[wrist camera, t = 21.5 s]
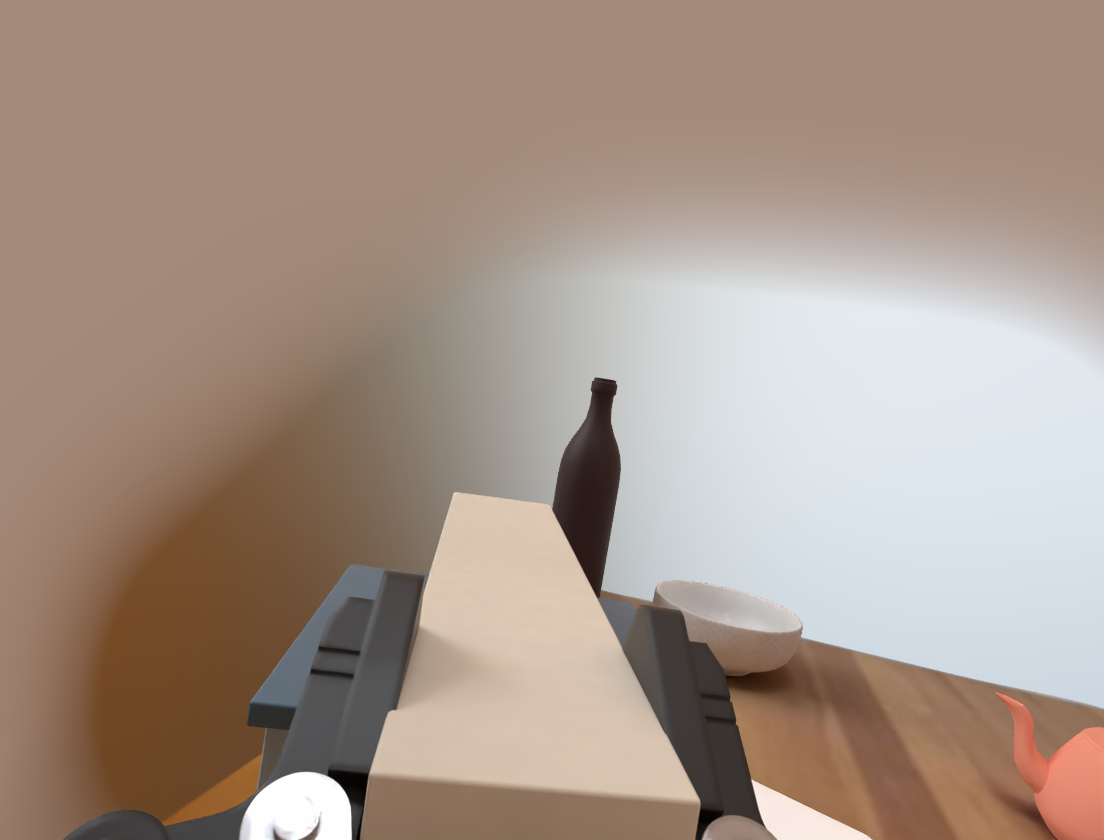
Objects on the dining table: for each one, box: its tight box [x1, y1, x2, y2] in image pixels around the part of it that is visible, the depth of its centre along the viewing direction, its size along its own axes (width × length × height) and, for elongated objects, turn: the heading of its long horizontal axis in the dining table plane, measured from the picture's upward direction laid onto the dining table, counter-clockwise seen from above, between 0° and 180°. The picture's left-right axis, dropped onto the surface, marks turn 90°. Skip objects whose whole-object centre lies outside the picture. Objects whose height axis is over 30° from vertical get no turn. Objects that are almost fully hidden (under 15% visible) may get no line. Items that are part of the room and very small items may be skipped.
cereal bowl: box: [652, 580, 802, 676], centre depth 78 cm, size 17×17×7 cm
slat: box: [360, 492, 701, 840], centre depth 18 cm, size 4×20×2 cm, turn 5°
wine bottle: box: [552, 378, 621, 598], centre depth 77 cm, size 7×7×30 cm
